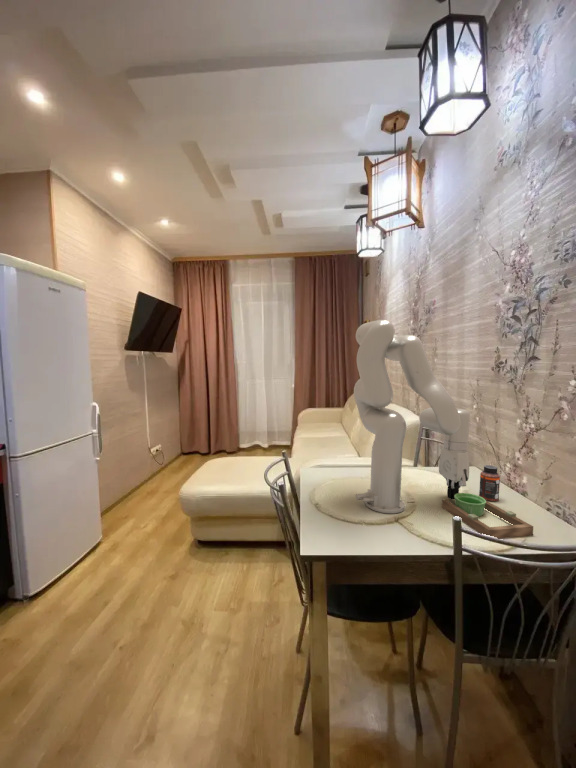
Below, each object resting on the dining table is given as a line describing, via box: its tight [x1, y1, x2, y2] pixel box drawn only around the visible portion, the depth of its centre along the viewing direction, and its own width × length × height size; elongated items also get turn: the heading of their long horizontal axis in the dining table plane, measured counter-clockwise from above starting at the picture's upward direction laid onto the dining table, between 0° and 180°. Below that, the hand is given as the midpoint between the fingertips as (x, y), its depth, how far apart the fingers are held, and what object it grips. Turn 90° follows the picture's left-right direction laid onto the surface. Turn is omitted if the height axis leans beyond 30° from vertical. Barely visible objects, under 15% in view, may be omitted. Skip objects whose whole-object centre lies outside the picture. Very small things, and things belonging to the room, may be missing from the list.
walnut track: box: [441, 499, 534, 539], centre depth 106 cm, size 14×20×3 cm
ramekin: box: [454, 492, 487, 517], centre depth 112 cm, size 9×9×4 cm
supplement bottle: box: [478, 464, 501, 502], centre depth 123 cm, size 6×6×11 cm
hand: (452, 498), depth 120 cm, fingers closed
